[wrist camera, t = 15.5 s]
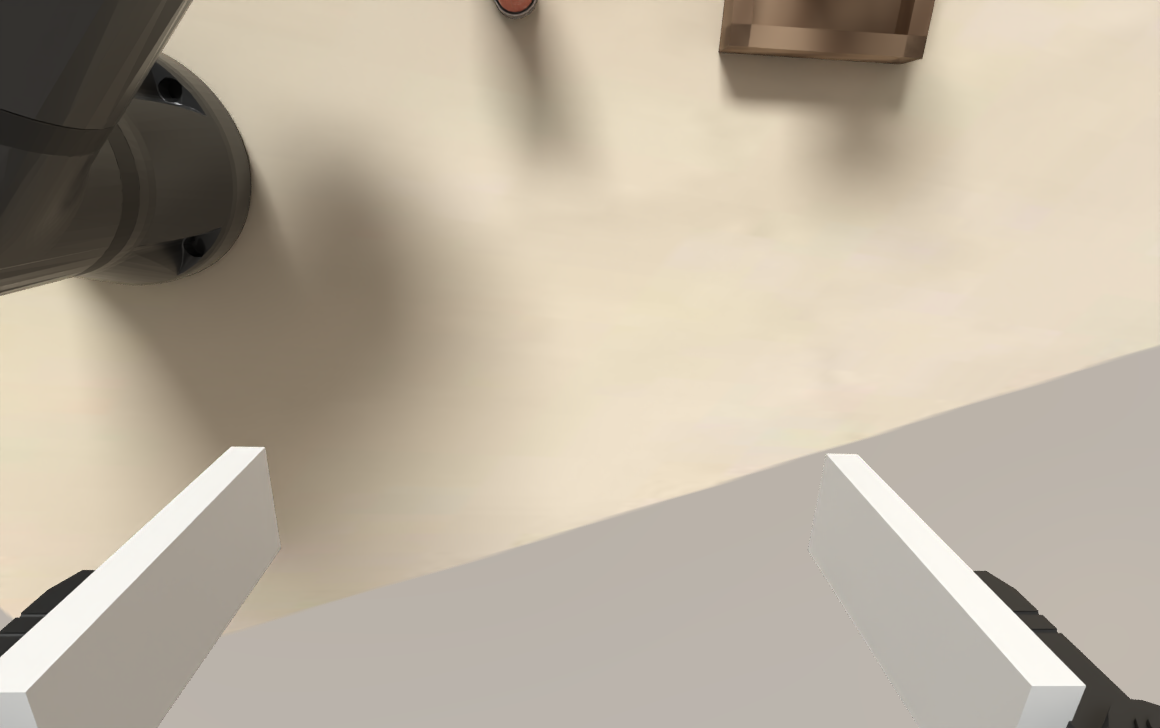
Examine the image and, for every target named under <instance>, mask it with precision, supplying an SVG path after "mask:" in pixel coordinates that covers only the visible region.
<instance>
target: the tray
mask: <svg viewBox="0 0 1160 728" xmlns="http://www.w3.org/2000/svg"><path fill="white" fill-rule="evenodd" d="M934 2H935V0H725V2H724V11H723V20H722V28H721V37H720V45H719V52H723V53H738V54H754V55H769V56H784V57H800V58H815V59H830V60H846V61H861V62H876V63H892V64H903V63H907V62H910V61H914V60H918V59H922V58H923V53H924V49H925V44H926V39H927V35H928V30H929V25H930V21H931V16H932V11H933V7H934Z"/></svg>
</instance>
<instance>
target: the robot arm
mask: <svg viewBox="0 0 1160 728" xmlns="http://www.w3.org/2000/svg"><path fill="white" fill-rule="evenodd" d="M192 1H193V0H0V296H2V295H6V294H10V293H14V292H18V291H21V290H25V289H29V288H33V287H37V286H41V285H45V284H49V283H53V282H57V281H61V280H64V279H67V278H71V277H77V278H84V279H90V280H97V281H104V282H111V283H118V284H125V285H150V284H159V283H164V282H169V281H172V280H176V279H179V278H182V277H185V276H188V275H191V274H194V273H197V272H199V271H201V270H203V269H205V268H207V267H209V266H210V265H212V264H213V263H215V262H216V261H217V260H219V259H220V258H221V257H222V256H223V255H224V254H225V253H226V252H227V251H228V250H229V249H230V248H231V246H232V245H233V244H234V242H235V241H236V239H237V238H238V236H239V234H240V232H241V230H242V228H243V226H244V223H245V220H246V217H247V214H248V210H249V204H250V196H251V178H250V169H249V163H248V159H247V154H246V151H245V148H244V145H243V142H242V139H241V137H240V134H239V132H238V130H237V128H236V126H235V124H234V122H233V120H232V118H231V117H230V115H229V113H228V112H227V110H226V109H225V107H224V106H223V105H222V103H221V102H220V100H219V99H218V98H217V97H216V95H215V94H214V93H213V92H212V91H211V90H210V89H209V87H208V86H207V85H206V84H205V83H204V82H203V81H202V80H201V79H199V78H198V77H197V76H196V75H195V74H194V73H193V72H191V71H190V70H189V69H187V68H186V67H185V66H183V65H182V64H180V63H179V62H177V61H176V60H174V59H172V58H171V57H169V56H167V55H165V54H163V53H161V52H162V50H163V49H164V47H165V45H166V44H167V42H168V40H169V39H170V37H171V36H172V34H173V32H174V31H175V29H176V27H177V26H178V24H179V22H180V21H181V19H182V18H183V16H184V14H185V13H186V11H187V9H188V8H189V6H190V4H191V3H192ZM280 549H281V544H280V538H279V531H278V525H277V519H276V512H275V506H274V500H273V493H272V487H271V481H270V474H269V468H268V462H267V455H266V449H265V447H230V448H229V449H228V450H227V451H226V452H225V453H223V454H222V455H221V456H220V457H219V458H218V459H217V460H216V461H215V462H214V463H212V464H211V465H210V466H209V467H208V468H207V469H206V470H205V471H204V472H203V473H202V474H200V475H199V476H198V477H197V478H196V479H195V480H194V481H193V482H192V483H191V484H189V485H188V486H187V487H186V488H185V489H184V490H183V491H182V492H181V493H180V494H179V495H177V496H176V497H175V498H174V499H173V500H172V501H171V502H170V503H169V504H168V505H166V506H165V507H164V508H163V509H162V510H161V511H160V512H159V513H158V514H157V515H156V516H154V517H153V518H152V519H151V520H150V521H149V522H148V523H147V524H146V525H145V526H143V527H142V528H141V529H140V530H139V531H138V532H137V533H136V534H135V535H134V536H133V537H131V538H130V539H129V540H128V541H127V542H126V543H125V544H124V545H123V546H122V547H120V548H119V549H118V550H117V551H116V552H115V553H114V554H113V555H112V556H111V557H110V558H108V559H107V560H106V561H105V562H104V563H103V564H102V565H101V566H100V567H99V568H97V569H96V570H82V571H80V572H78V573H77V574H75V575H73V576H71V577H70V578H68V579H66V580H64V581H63V582H61V583H59V584H57V585H56V586H54V587H52V588H50V589H49V590H47V591H46V592H45V593H44V594H42V595H41V596H40V597H39V598H38V599H37V600H36V601H34V602H33V603H32V604H31V605H30V606H29V607H27V608H26V609H25V610H24V611H23V612H22V613H21V616H20V618H15V619H14V620H12V621H11V622H10V623H9V624H8V625H7V626H6V627H4V628H3V629H2V630H1V631H0V728H157V727H158V726H159V724H160V723H161V721H162V720H163V718H164V717H165V715H166V714H167V713H168V711H169V710H170V708H171V707H172V705H173V704H174V702H175V701H176V700H177V698H178V697H179V695H180V694H181V692H182V690H183V689H184V688H185V687H186V685H187V684H188V682H189V681H190V679H191V678H192V676H193V675H194V673H195V672H196V671H197V669H198V668H199V666H200V665H201V663H202V662H203V660H204V659H205V658H206V656H207V654H208V653H209V652H210V650H211V649H212V647H213V646H214V644H215V643H216V642H217V640H218V639H219V637H220V636H221V634H222V633H223V631H224V630H225V629H226V627H227V626H228V624H229V623H230V621H231V620H232V618H233V617H234V616H235V614H236V613H237V611H238V610H239V608H240V607H241V605H242V604H243V603H244V601H245V600H246V598H247V597H248V595H249V594H250V592H251V591H252V589H253V588H254V587H255V585H256V584H257V582H258V581H259V579H260V578H261V576H262V575H263V574H264V572H265V571H266V569H267V568H268V566H269V565H270V563H271V562H272V561H273V559H274V558H275V556H276V555H277V553H278V552H279V550H280ZM808 552H809V553H810V555H811V556H812V558H813V560H814V561H815V562H816V564H817V566H818V568H819V569H820V571H821V572H822V574H823V576H824V577H825V579H826V580H827V582H828V583H829V585H830V587H831V588H832V590H833V592H834V593H835V595H836V596H837V598H838V599H839V601H840V603H841V604H842V606H843V607H844V609H845V611H846V612H847V614H848V615H849V617H850V619H851V620H852V622H853V623H854V625H855V626H856V628H857V630H858V631H859V633H860V635H861V636H862V638H863V639H864V641H865V643H866V644H867V646H868V647H869V649H870V651H871V652H872V654H873V655H874V657H875V658H876V660H877V662H878V663H879V665H880V667H881V668H882V670H883V671H884V673H885V674H886V676H887V678H888V679H889V681H890V682H891V684H892V686H893V687H894V689H895V690H896V692H897V693H898V695H899V697H900V698H901V700H902V702H903V703H904V705H905V706H906V708H907V710H908V711H909V713H910V714H911V715H912V718H913V719H914V721H915V722H916V724H917V725H918V727H919V728H1160V706H1159V705H1156V704H1152V703H1149V702H1146V701H1143V700H1133V699H1130V698H1129V697H1127V695H1125V693H1123V692H1122V691H1121V690H1120V689H1119V688H1118V687H1117V686H1116V685H1115V684H1114V683H1113V682H1112V681H1111V680H1110V679H1109V678H1108V677H1107V676H1106V675H1105V674H1104V673H1103V672H1102V671H1101V670H1099V669H1098V668H1097V667H1096V666H1095V665H1094V664H1093V663H1092V662H1091V661H1090V660H1089V659H1088V658H1087V657H1086V656H1085V655H1084V654H1083V653H1082V652H1081V651H1080V650H1079V649H1077V648H1076V647H1075V646H1074V645H1073V644H1072V643H1071V642H1070V641H1069V640H1068V639H1067V638H1066V637H1065V636H1064V635H1063V634H1061V633H1058V632H1057V629H1056V627H1055V626H1053V625H1052V624H1051V623H1050V622H1049V621H1048V620H1047V619H1046V618H1045V617H1044V616H1043V615H1039V614H1038V610H1037V609H1036V608H1035V607H1034V606H1033V605H1031V604H1030V603H1029V602H1028V601H1027V600H1026V599H1025V598H1024V597H1023V596H1022V595H1021V594H1020V593H1019V592H1018V591H1017V590H1016V589H1014V588H1013V587H1011V586H1009V585H1008V584H1006V583H1005V582H1003V581H1001V580H1000V579H998V578H996V577H995V576H993V575H992V574H990V573H989V572H987V571H972V570H971V569H970V568H969V567H968V566H967V565H966V564H965V563H964V562H963V561H962V560H961V559H960V558H959V557H958V556H957V555H956V554H955V553H954V552H953V551H952V550H951V549H950V547H949V546H948V545H947V544H945V543H944V542H943V541H942V539H941V538H940V537H939V536H938V535H936V533H935V532H934V531H933V530H932V529H931V528H930V527H929V526H928V525H927V524H926V523H925V522H924V521H923V520H922V519H921V518H920V517H919V516H918V515H917V514H916V513H915V512H914V511H913V510H912V509H911V508H909V506H908V505H907V504H906V503H905V502H904V501H903V500H902V499H901V498H900V497H899V496H898V495H897V494H896V493H895V492H894V491H893V490H892V489H891V488H890V487H889V486H888V485H887V484H886V483H885V482H884V481H883V480H882V479H881V478H880V477H879V476H878V475H877V474H876V473H875V472H874V471H873V470H872V469H871V468H870V467H869V466H868V465H867V463H866V462H864V460H863V459H862V458H861V457H860V456H859V455H857V454H826V456H825V462H824V467H823V473H822V478H821V483H820V488H819V494H818V499H817V504H816V509H815V515H814V520H813V525H812V531H811V536H810V541H809V546H808Z"/></svg>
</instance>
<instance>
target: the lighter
mask: <svg viewBox="0 0 1160 728" xmlns="http://www.w3.org/2000/svg"><path fill="white" fill-rule="evenodd" d="M494 1H495V3H496V5H497V7H498V9H499V10H500V11H501V13H502V14H503V15H505V16H507V17H508V18H514V19H518V18H523V17H525V16H527V15H528V14H530V13H531V11H532V10H533V9H534V8H535V5H536V3H537V0H494Z"/></svg>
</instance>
